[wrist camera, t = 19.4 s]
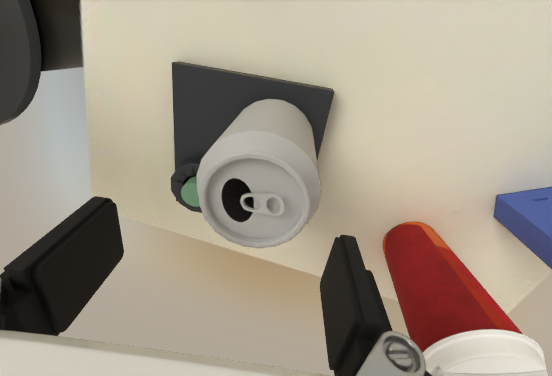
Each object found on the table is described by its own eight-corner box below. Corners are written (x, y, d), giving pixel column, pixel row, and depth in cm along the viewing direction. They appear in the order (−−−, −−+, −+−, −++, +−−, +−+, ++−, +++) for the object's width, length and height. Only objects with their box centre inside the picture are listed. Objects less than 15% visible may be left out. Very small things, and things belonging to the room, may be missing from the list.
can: (228, 99, 24) (170, 143, 13) (313, 94, 23) (324, 137, 12) (239, 175, 27) (200, 258, 17) (313, 173, 26) (322, 260, 16)
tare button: (186, 196, 27) (180, 204, 26) (186, 173, 26) (180, 180, 25) (211, 200, 27) (207, 208, 26) (212, 178, 26) (208, 185, 25)
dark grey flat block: (180, 194, 31) (169, 209, 28) (178, 61, 24) (163, 63, 21) (301, 216, 31) (301, 232, 28) (332, 88, 24) (336, 94, 21)
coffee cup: (365, 264, 33) (407, 409, 20) (382, 209, 29) (449, 344, 16) (433, 272, 33) (522, 424, 20) (460, 217, 29) (593, 361, 16)
